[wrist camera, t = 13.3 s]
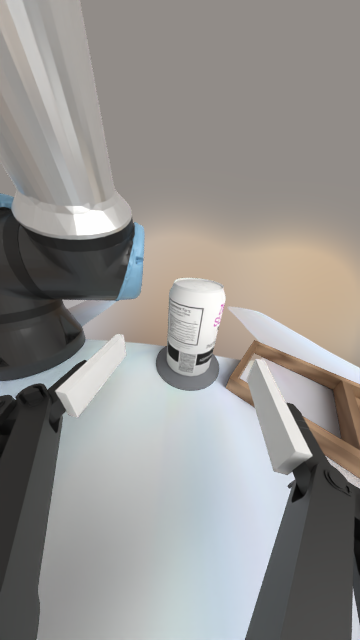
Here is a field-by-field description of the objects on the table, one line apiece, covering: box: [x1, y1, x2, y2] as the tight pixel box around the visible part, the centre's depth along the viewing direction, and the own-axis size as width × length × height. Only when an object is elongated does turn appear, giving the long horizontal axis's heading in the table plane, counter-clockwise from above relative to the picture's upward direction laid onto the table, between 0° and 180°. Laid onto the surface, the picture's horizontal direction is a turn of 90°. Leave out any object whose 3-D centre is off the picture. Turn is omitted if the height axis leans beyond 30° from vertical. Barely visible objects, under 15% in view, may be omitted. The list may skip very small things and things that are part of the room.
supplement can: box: [167, 278, 226, 376], centre depth 23 cm, size 8×8×15 cm
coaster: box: [156, 346, 219, 391], centre depth 27 cm, size 12×12×1 cm
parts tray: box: [226, 340, 360, 478], centre depth 20 cm, size 24×14×3 cm, turn 49°
